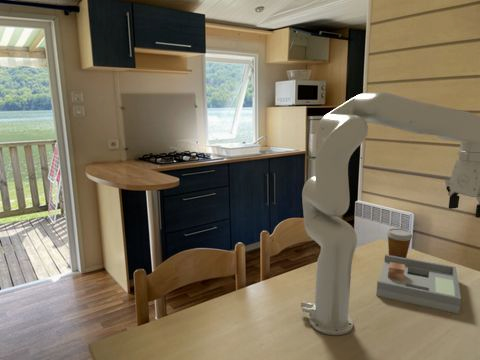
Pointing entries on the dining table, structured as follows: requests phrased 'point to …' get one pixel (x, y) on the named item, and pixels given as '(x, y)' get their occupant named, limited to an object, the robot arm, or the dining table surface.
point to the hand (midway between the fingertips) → (466, 212)
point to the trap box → (422, 284)
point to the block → (396, 271)
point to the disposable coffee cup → (398, 242)
